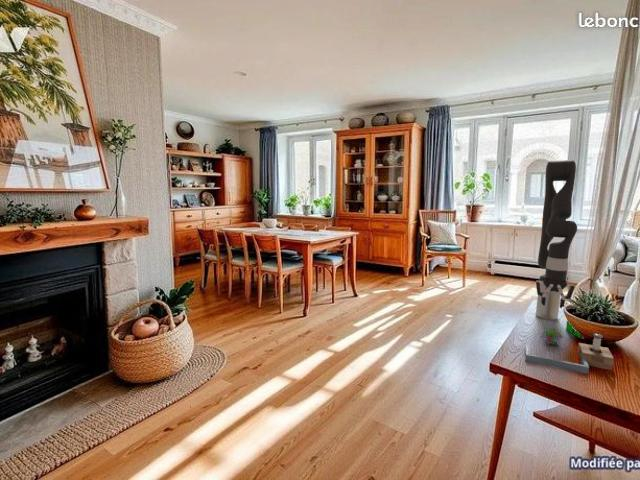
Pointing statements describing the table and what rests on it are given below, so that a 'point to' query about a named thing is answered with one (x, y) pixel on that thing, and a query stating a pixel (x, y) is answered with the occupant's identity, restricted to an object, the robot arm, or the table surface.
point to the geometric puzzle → (552, 336)
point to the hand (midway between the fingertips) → (552, 306)
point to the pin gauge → (596, 342)
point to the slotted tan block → (596, 356)
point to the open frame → (557, 362)
